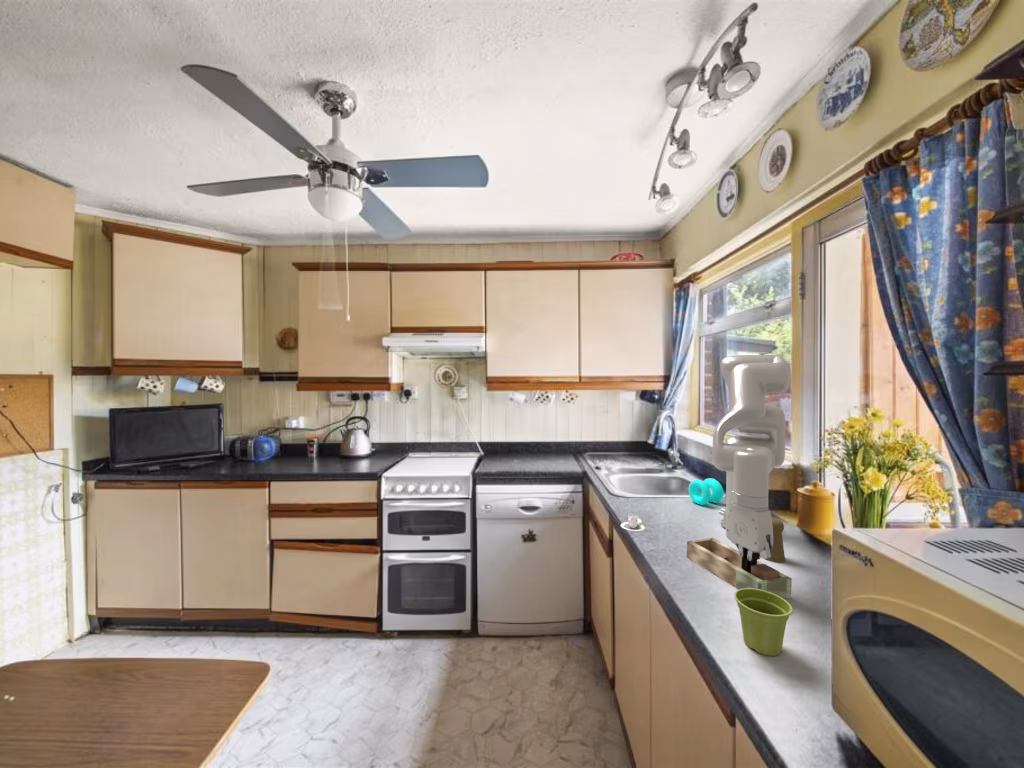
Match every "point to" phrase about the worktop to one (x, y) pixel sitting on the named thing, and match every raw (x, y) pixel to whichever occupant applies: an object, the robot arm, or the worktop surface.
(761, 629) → the plant pot
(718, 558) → the box
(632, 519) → the teacup and saucer
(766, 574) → the block
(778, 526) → the cork
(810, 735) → the worktop surface
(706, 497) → the donuts
